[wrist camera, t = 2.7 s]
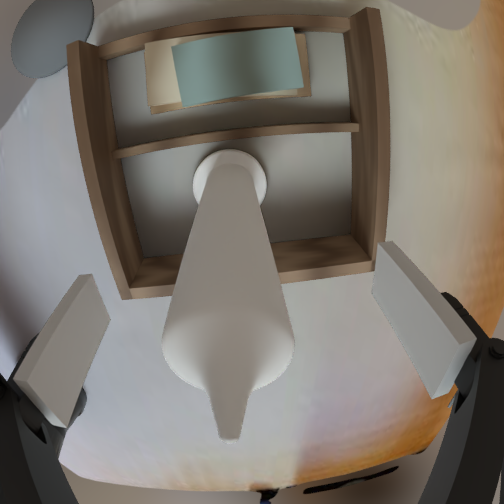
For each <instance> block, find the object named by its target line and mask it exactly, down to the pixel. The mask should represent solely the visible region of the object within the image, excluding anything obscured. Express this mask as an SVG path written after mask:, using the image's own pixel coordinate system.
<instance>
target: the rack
mask: <svg viewBox="0 0 504 504" xmlns="http://www.w3.org/2000/svg"><path fill="white" fill-rule="evenodd" d="M284 27H293V30H294V31H315V32H335V33H343V35H344V43H345V52H346V62H347V72H348V84H349V98H350V115H351V122H319V123H295V124H279V125H266V126H254V127H244V128H235V129H227V130H219V131H211V132H204V133H197V134H191V135H185V136H179V137H173V138H167V139H162V140H157V141H152V142H147V143H142V144H137V145H133V146H128V147H124V148H119V147H118V142H117V136H116V130H115V124H114V117H113V110H112V103H111V95H110V87H109V78H108V68H107V60H109V59H112V58H115V57H118V56H122V55H125V54H129V53H133V52H136V51H140V50H144V49H145V43H149V42H155V41H160V40H166V39H172V38H179V37H186V36H194V35H204V34H214V33H228V32H246V31H254V30H263V29H272V28H284ZM66 49H67V65H68V77H69V87H70V96H71V104H72V111H73V118H74V125H75V131H76V137H77V142H78V148H79V153H80V158H81V163H82V167H83V172H84V177H85V181H86V185H87V189H88V193H89V197H90V201H91V205H92V209H93V213H94V216H95V220H96V223H97V227H98V230H99V234H100V237H101V240H102V244H103V247H104V250H105V253H106V256H107V259H108V262H109V265H110V268H111V271H112V274H113V277H114V280H115V282H116V285H117V288H118V291H119V293H120V296H121V298H122V300H127V299H140V298H152V297H163V296H172V295H173V291H174V288H175V284H176V280H177V277H178V273H179V269H180V266H181V262H182V259H183V255H184V253H183V254H175V255H167V256H158V257H150V258H144V256H143V252H142V249H141V245H140V241H139V237H138V234H137V230H136V226H135V222H134V218H133V214H132V210H131V205H130V201H129V197H128V192H127V188H126V183H125V178H124V174H123V169H122V163H121V158H124V157H129V156H133V155H138V154H143V153H148V152H153V151H159V150H164V149H170V148H175V147H181V146H187V145H194V144H201V143H208V142H215V141H223V140H231V139H239V138H249V137H259V136H271V135H284V134H300V133H322V132H351V141H352V210H351V234H350V235H341V236H332V237H323V238H314V239H305V240H296V241H287V242H278V243H270V245H271V249H272V253H273V257H274V260H275V264H276V268H277V272H278V276H279V280H280V283H281V284H285V283H293V282H300V281H308V280H316V279H323V278H330V277H337V276H345V275H352V274H358V273H365V272H372V271H375V264H376V255H377V246H378V243H379V242H385V237H386V227H387V215H388V200H389V181H390V105H389V87H388V73H387V62H386V52H385V44H384V36H383V29H382V22H381V16H380V10H379V9H375V8H369V7H366V8H364V9H362V10H361V11H359V12H358V13H356V14H354V15H353V16H351V17H350V18H345V17H334V16H319V15H256V16H241V17H230V18H221V19H213V20H205V21H199V22H192V23H187V24H181V25H176V26H171V27H166V28H161V29H157V30H153V31H149V32H145V33H141V34H137V35H133V36H130V37H126V38H123V39H120V40H116V41H113V42H110V43H107V44H104V45H101V46H95V45H92V44H89V43H86V42H83V41H80V40H77V41H74V42H72V43H70V44H67V45H66Z"/></svg>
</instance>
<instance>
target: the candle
mask: <svg viewBox="0 0 504 504" xmlns="http://www.w3.org/2000/svg"><path fill="white" fill-rule="evenodd" d="M266 190H267V180H266V175H265V173H264V170H263V168H262V166H261V165H260V163H259V162H258V161H257V160H256V159H255V158H254V157H252V156H251V155H250V154H248V153H246V152H243V151H240V150H236V149H224V150H220V151H217V152H214V153H212V154H210V155H209V156H207V157H206V158H205V159H204V160H203V161H202V162H201V163H200V165H199V166H198V168H197V170H196V172H195V174H194V178H193V193H194V196H195V199H196V201H197V203H198V204H199V206H198V209H197V212H196V215H195V218H194V222H193V225H192V228H191V231H190V235H189V238H188V241H187V245H186V248H185V252H184V255H183V259H182V262H181V266H180V269H179V273H178V277H177V280H176V284H175V288H174V291H173V295H172V299H171V303H170V307H169V310H168V314H167V318H166V322H165V326H164V331H163V335H162V351H163V355H164V358H165V360H166V362H167V364H168V365H169V367H170V368H171V369H172V371H173V372H174V373H175V374H176V375H177V376H178V377H179V378H181V379H182V380H183V381H185V382H186V383H188V384H190V385H192V386H194V387H196V388H199V389H201V390H204V391H205V393H206V394H207V396H208V398H209V400H210V404H211V408H212V412H213V415H214V419H215V423H216V427H217V430H218V434H219V438H220V440H221V441H222V442H224V443H226V444H233V443H235V442H237V441H238V440H239V437H240V433H241V429H242V424H243V420H244V415H245V411H246V406H247V402H248V399H249V397H250V395H251V393H252V391H253V390H256V389H259V388H261V387H264V386H266V385H268V384H269V383H271V382H273V381H274V380H275V379H277V378H278V377H279V376H280V375H281V374H282V373H283V372H284V371H285V370H286V368H287V367H288V365H289V364H290V362H291V360H292V357H293V354H294V347H295V340H294V334H293V330H292V326H291V322H290V318H289V315H288V311H287V307H286V303H285V299H284V295H283V291H282V287H281V283H280V280H279V276H278V272H277V268H276V264H275V260H274V257H273V253H272V249H271V245H270V242H269V238H268V234H267V230H266V227H265V223H264V219H263V216H262V212H261V208H260V205H261V203H262V202H263V200H264V197H265V194H266Z"/></svg>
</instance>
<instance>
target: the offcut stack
mask: <svg viewBox="0 0 504 504" xmlns="http://www.w3.org/2000/svg"><path fill="white" fill-rule="evenodd" d="M144 58H145V67H146V83H147V98H148V106H150V109H151V114H158V113H163V112H168V111H173V110H179V109H185V108H191V107H197V106H204V105H211V104H218V103H226V102H235V101H244V100H255V99H268V98H284V97H307V96H311V87H310V76H309V66H308V56H307V47H306V39H305V34H295V32H294V30H293V27H284V28H272V29H263V30H254V31H246V32H228V33H214V34H204V35H194V36H186V37H179V38H172V39H166V40H160V41H155V42H149V43H145V52H144Z"/></svg>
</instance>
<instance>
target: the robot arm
mask: <svg viewBox="0 0 504 504" xmlns="http://www.w3.org/2000/svg"><path fill="white" fill-rule="evenodd" d="M372 294H373V296H374V298H375V299H376V301H377V303H378V304H379V306H380V307H381V309H382V311H383V312H384V314H385V316H386V317H387V319H388V321H389V322H390V324H391V326H392V328H393V329H394V331H395V333H396V334H397V336H398V338H399V340H400V341H401V343H402V345H403V347H404V348H405V350H406V352H407V354H408V356H409V357H410V359H411V361H412V363H413V365H414V366H415V368H416V370H417V372H418V374H419V376H420V378H421V380H422V381H423V383H424V385H425V387H426V389H427V391H428V393H429V395H430V397H431V399H434V398H436V397H439V396H442V395H444V394H447V393H449V391H450V389H451V387H452V386H453V384H454V383H455V384H456V386H457V388H458V390H457V392H456V394H455V395H454V397H453V399H452V400H451V402H450V403H449V405H448V407H449V408H450V407H451V406H452V404H453V406H452V410H451V414H450V418H449V422H448V425H447V428H446V431H445V435H444V438H443V441H442V444H441V447H440V450H439V453H438V456H437V459H436V461H435V464H434V467H433V469H432V472H431V475H430V477H429V479H428V482H427V484H426V486H425V489H424V491H423V493H422V496H421V498H420V500H419V502H418V504H492V501H493V498H494V495H495V491H496V488H497V484H498V480H499V476H500V472H501V490H500V503H499V504H504V341H503V340H500V339H498V338H489V337H488V336H487V335H486V333H485V332H484V331H483V330H482V328H481V327H480V326H479V325H478V324H477V322H476V321H475V320H474V319H473V317H472V316H471V315H469V313H468V311H467V310H466V309H465V308H463V306H462V304H461V303H460V302H459V301H458V300H457V299H456V298H455V297H453V296H452V295H450V294H449V293H447V292H443V293H440V292H439V291H438V290H437V289H436V288H435V286H434V285H433V284H432V283H431V282H430V281H429V280H428V279H427V277H426V276H425V275H424V274H423V273H422V272H421V271H420V270H419V269H418V267H417V266H416V265H415V264H414V263H413V262H412V261H411V260H410V259H409V258H408V257H407V256H406V255H405V254H404V252H403V251H402V250H401V249H400V248H399V247H398V246H397V245H396V244H395V243H394V242H393V241H388V242H379V243H378V246H377V255H376V264H375V272H374V280H373V287H372ZM110 320H111V319H110V317H109V314H108V312H107V310H106V308H105V305H104V303H103V300H102V298H101V296H100V293H99V291H98V288H97V286H96V283H95V281H94V278H93V275H92V274H86V275H79V276H78V278H77V279H76V280H75V282H74V283H73V284H72V286H71V287H70V289H69V290H68V291H67V293H66V294H65V296H64V297H63V299H62V300H61V301H60V303H59V304H58V306H57V307H56V309H55V310H54V312H53V313H52V315H51V316H50V318H49V319H48V321H47V322H46V324H45V325H44V327H43V329H42V330H41V332H40V333H38V334H37V335H36V336H35V337H34V338H33V339H32V340H31V341H30V343H29V345H28V346H27V348H26V349H25V350H26V351H24V353H23V354H22V356H21V357H22V358H20V360H19V361H18V363H17V365H16V366H15V368H14V370H13V372H12V374H11V375H10V377H9V379H8V381H6V380H5V378H4V377H3V376H2V375H1V373H0V504H79V503H78V501H77V499H76V498H75V495H74V493H73V492H72V489H71V487H70V485H69V483H68V481H67V479H66V477H65V474H64V472H63V470H62V468H61V465H60V463H59V460H58V458H59V455H60V451H61V448H62V444H63V441H64V438H65V435H66V432H67V430H68V429H69V428H70V426H71V425H72V424H73V422H74V421H75V419H76V418H77V417H78V416H80V415H81V414H82V412H83V410H84V408H85V405H86V401H87V398H86V394H85V392H84V390H83V389H82V386H83V383H84V381H85V378H86V376H87V373H88V371H89V368H90V366H91V363H92V361H93V359H94V356H95V354H96V352H97V349H98V347H99V345H100V342H101V340H102V338H103V336H104V333H105V331H106V329H107V327H108V325H109V322H110Z"/></svg>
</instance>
